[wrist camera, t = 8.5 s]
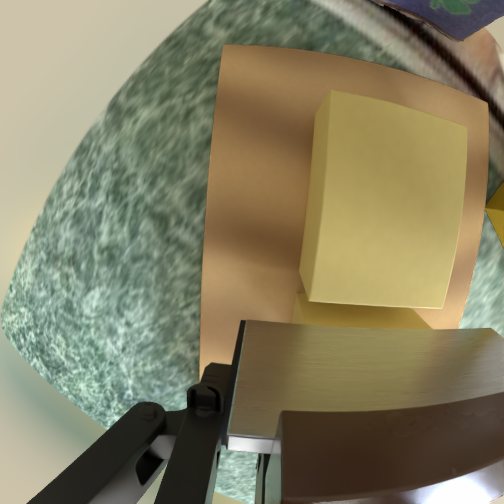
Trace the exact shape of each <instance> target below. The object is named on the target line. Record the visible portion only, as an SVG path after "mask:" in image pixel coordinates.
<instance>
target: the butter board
mask: <svg viewBox="0 0 504 504" xmlns="http://www.w3.org/2000/svg"><path fill="white" fill-rule="evenodd" d="M331 90H334V91H340V92H346V93H351V94H356V95H361V96H366V97H370V98H375V99H379V100H383V101H387V102H391V103H395V104H399V105H403V106H406V107H410V108H414V109H417V110H420V111H424V112H427V113H430V114H433V115H436V116H439V117H442V118H445V119H448V120H451V121H454V122H457V123H460V124H462V125H465V126H467V163H466V178H465V190H464V200H463V209H462V216H461V223H460V230H459V236H458V242H457V248H456V253H455V258H454V263H453V268H452V272H451V277H450V281H449V285H448V289H447V293H446V297H445V301H444V304H443V308H442V309H433V308H412V309H413V310H414V311H415V312H416V313H417V314H418V315H419V316H420V317H421V318H422V319H423V320H424V321H425V322H426V323H427V324H428V325H429V326H430V327H431V328H432V329H458V328H459V325H460V321H461V318H462V315H463V312H464V308H465V305H466V301H467V298H468V294H469V290H470V286H471V282H472V278H473V274H474V269H475V265H476V260H477V255H478V250H479V245H480V239H481V233H482V227H483V220H484V212H485V203H486V194H487V182H488V164H489V116H488V103H486V102H484V101H482V100H480V99H478V98H475V97H473V96H471V95H469V94H466V93H464V92H462V91H459V90H457V89H454V88H452V87H449V86H446V85H444V84H441V83H438V82H436V81H433V80H430V79H427V78H424V77H421V76H418V75H415V74H412V73H409V72H405V71H402V70H399V69H395V68H391V67H388V66H384V65H380V64H376V63H372V62H368V61H364V60H359V59H354V58H350V57H345V56H339V55H334V54H328V53H322V52H315V51H308V50H301V49H292V48H283V47H271V46H256V45H225V44H224V45H223V49H222V56H221V64H220V71H219V79H218V87H217V95H216V104H215V113H214V122H213V131H212V141H211V151H210V162H209V174H208V186H207V199H206V213H205V228H204V244H203V263H202V285H201V313H200V361H199V383H200V381H201V377H202V375H203V372H204V369H205V367H206V366H207V365H209V364H210V363H211V362H215V363H222V364H230V365H231V364H232V359H233V354H234V349H235V345H236V340H237V335H238V330H239V326H240V321H241V320H247V319H250V320H260V321H270V322H281V323H291V322H292V316H293V309H294V302H295V296H296V293H306V291H305V288H304V285H303V282H302V279H301V276H300V273H299V267H300V259H301V251H302V243H303V235H304V227H305V218H306V209H307V200H308V190H309V180H310V170H311V159H312V147H313V135H314V122H315V113H316V112H317V110H318V109H319V107H320V106H321V104H322V103H323V101H324V100H325V98H326V97H327V95H328V94H329V92H330V91H331Z"/></svg>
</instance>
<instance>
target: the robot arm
mask: <svg viewBox="0 0 504 504" xmlns="http://www.w3.org/2000/svg"><path fill="white" fill-rule="evenodd" d="M245 324H246V320H241V321H240V326H239V330H238V335H237V340H236V345H235V349H234V354H233V359H232V364H231V365H230V364H222V363H215V362H211V363H210V364H209V365H207V366H206V367H205V369H204V372H203V375H202V377H201V381H200V383H199V384H196V385H193V386H192V387H190V388H189V389H188V390H187V408H186V409H183V410H179V411H165V410H164V408H163V407H162V406H161V405H159V404H157V403H154V402H141V403H137V404H136V405H134V406H133V407H132V408H131V409H130V410H129V411H127V412H126V413H125V414H124V415H123V416H122V417H121V418H120V419H119V420H118V421H117V422H116V423H115V424H114V425H113V426H112V427H111V428H110V429H108V430H107V431H106V432H105V433H104V434H103V435H102V436H101V437H100V438H99V439H98V440H97V441H96V442H95V443H93V444H92V445H91V446H90V447H89V448H88V449H87V450H86V451H85V452H84V453H83V454H82V455H80V456H79V457H78V458H77V459H76V460H75V461H74V462H73V463H72V464H71V465H69V466H68V467H67V468H66V469H65V470H64V471H63V472H62V473H61V474H59V476H57V477H56V478H55V479H54V480H53V481H52V482H51V483H49V484H48V485H47V486H46V487H45V488H44V489H43V490H42V491H40V492H39V493H38V494H37V495H36V496H35V497H33V498H32V499H31V500H30V501H29V502H28V503H27V504H136V503H137V502H138V501H139V500H140V498H141V497H142V496H143V494H144V493H145V492H146V491H147V489H148V488H149V487H150V486H151V484H152V483H153V482H154V480H155V479H156V478H157V477H158V475H159V474H160V473H161V471H162V470H163V469H164V467H165V466H166V465H167V467H166V470H165V473H164V476H163V479H162V482H161V484H160V488H159V491H158V493H157V496H156V499H155V502H154V504H212V499H213V493H214V488H215V483H216V477H217V472H218V466H219V461H220V455H221V444H222V445H225V446H226V435H227V429H228V423H229V417H230V412H231V406H232V400H233V394H234V389H235V383H236V377H237V371H238V365H239V360H240V354H241V348H242V342H243V336H244V330H245ZM270 456H271V454H267V453H259V454H258V459H257V464H256V469H257V474H256V489H255V503H254V504H265V478H266V473H267V469H268V465H269V460H270ZM167 463H168V464H167Z"/></svg>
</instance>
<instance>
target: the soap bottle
mask: <svg viewBox="0 0 504 504" xmlns="http://www.w3.org/2000/svg"><path fill="white" fill-rule="evenodd" d="M485 211H486V213H487V215H488V217H489V219H490V221H491V223H492V225H493V227H494V229H495V231H496V233H497V235H498V237H499V239H500V242H501V244H502V246H503V248H504V182H503V183H502V184H501V186H500V187H499V188H498V190H497V191H496V192H495V194H494V195H493V196H492V198H491V199H490V200H489V202H488V203H487V204H486V205H485Z"/></svg>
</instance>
